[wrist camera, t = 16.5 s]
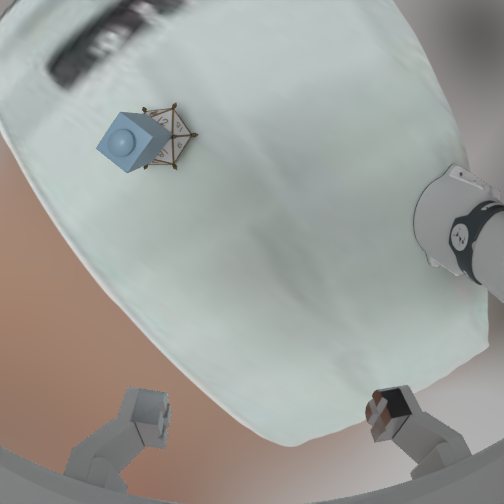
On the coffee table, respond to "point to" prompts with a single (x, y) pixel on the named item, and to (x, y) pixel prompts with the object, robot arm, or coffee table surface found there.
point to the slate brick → (133, 140)
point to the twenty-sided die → (176, 142)
